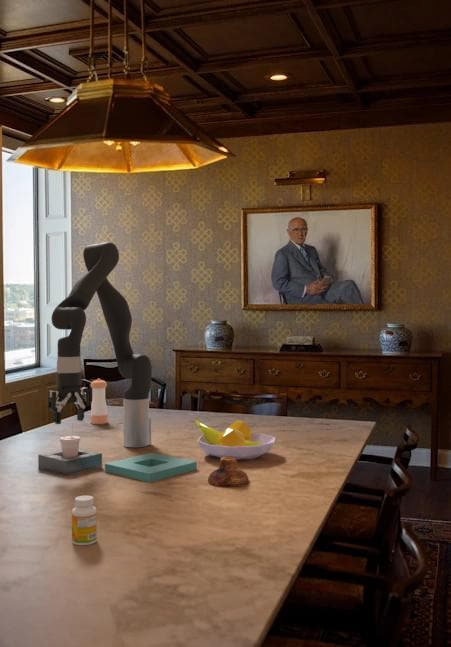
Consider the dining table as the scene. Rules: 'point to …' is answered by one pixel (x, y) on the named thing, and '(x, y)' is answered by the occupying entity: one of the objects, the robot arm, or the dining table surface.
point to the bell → (228, 474)
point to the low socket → (143, 470)
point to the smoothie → (70, 445)
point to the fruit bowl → (234, 441)
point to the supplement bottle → (84, 521)
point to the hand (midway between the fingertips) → (69, 422)
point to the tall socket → (69, 462)
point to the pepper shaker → (98, 402)
